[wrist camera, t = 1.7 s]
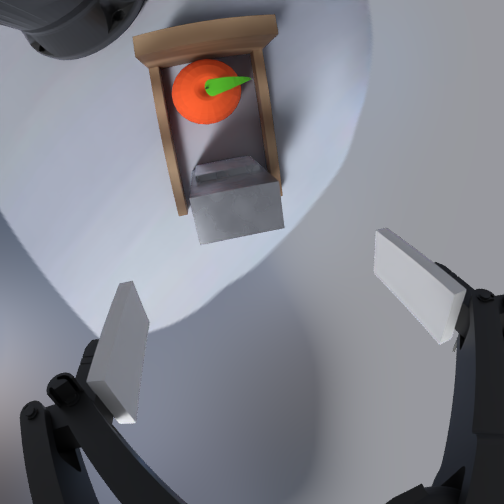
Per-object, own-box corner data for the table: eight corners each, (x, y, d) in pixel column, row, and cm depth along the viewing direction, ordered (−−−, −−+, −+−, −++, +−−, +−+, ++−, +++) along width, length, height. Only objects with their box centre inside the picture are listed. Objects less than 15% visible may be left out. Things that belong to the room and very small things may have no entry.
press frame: (149, 55, 26) (132, 36, 18) (256, 37, 27) (274, 14, 19) (179, 210, 35) (174, 241, 27) (278, 191, 36) (301, 215, 28)
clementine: (236, 55, 28) (246, 41, 22) (253, 110, 31) (266, 110, 25) (167, 76, 28) (158, 66, 21) (185, 131, 31) (181, 135, 25)
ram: (191, 165, 33) (187, 191, 22) (252, 153, 33) (278, 173, 23) (199, 202, 35) (200, 245, 24) (257, 191, 35) (284, 228, 25)
